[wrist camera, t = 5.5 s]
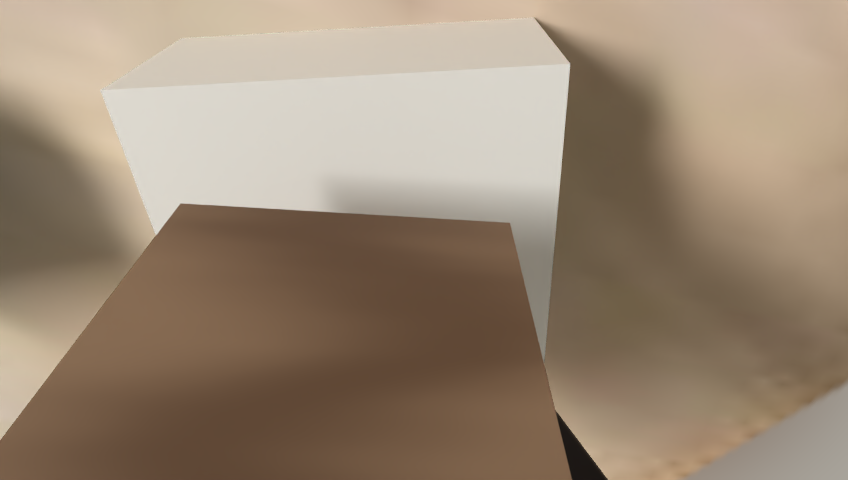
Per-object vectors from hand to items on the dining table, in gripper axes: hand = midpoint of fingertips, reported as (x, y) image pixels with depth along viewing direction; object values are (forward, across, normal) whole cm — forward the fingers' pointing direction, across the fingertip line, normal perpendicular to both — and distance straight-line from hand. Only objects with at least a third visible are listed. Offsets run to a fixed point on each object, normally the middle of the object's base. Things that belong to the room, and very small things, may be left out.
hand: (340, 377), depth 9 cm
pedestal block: (+7, 0, 0) cm, 7 cm away
